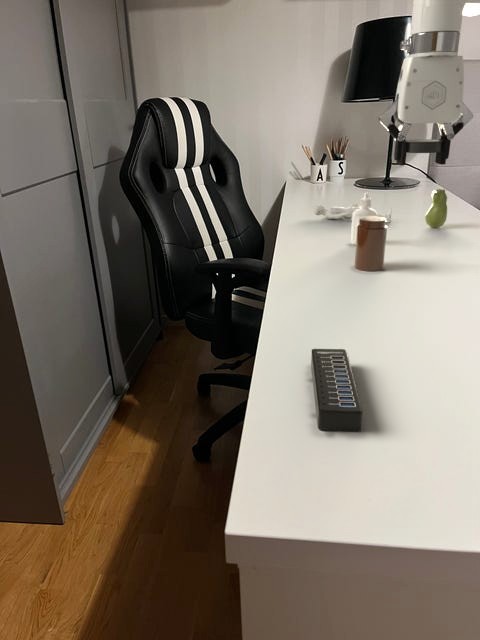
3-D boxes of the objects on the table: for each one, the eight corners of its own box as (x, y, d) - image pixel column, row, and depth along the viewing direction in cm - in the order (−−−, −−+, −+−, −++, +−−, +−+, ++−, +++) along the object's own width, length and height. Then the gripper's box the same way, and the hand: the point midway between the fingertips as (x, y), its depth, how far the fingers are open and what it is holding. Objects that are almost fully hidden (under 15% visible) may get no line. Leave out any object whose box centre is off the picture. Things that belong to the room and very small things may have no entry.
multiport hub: (318, 430, 51) (318, 411, 50) (310, 364, 65) (311, 348, 64) (361, 431, 51) (363, 412, 50) (345, 364, 64) (346, 348, 63)
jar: (378, 262, 105) (383, 215, 102) (386, 271, 100) (391, 221, 96) (351, 263, 105) (354, 216, 101) (358, 271, 100) (361, 222, 96)
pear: (446, 229, 132) (452, 190, 128) (425, 229, 133) (430, 190, 129) (443, 225, 137) (448, 187, 133) (422, 224, 138) (427, 187, 134)
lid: (396, 151, 89) (397, 140, 88) (427, 149, 90) (429, 138, 89) (414, 153, 83) (415, 142, 82) (448, 152, 84) (450, 140, 84)
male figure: (390, 210, 137) (311, 208, 143) (389, 224, 138) (310, 221, 145) (392, 204, 146) (317, 201, 152) (391, 217, 147) (316, 214, 154)
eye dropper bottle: (372, 246, 117) (377, 194, 113) (348, 244, 119) (352, 193, 115) (376, 242, 121) (380, 191, 116) (352, 240, 123) (356, 190, 118)
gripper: (385, 46, 77) (375, 168, 84) (498, 43, 77) (479, 165, 84) (373, 51, 84) (365, 163, 91) (477, 48, 84) (461, 161, 91)
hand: (420, 163), depth 87 cm, fingers closed on lid, 6 cm apart
